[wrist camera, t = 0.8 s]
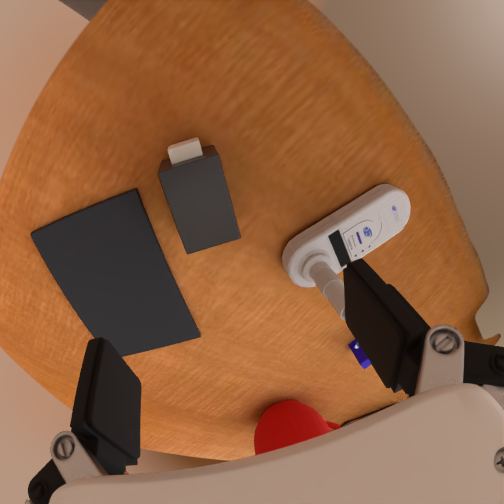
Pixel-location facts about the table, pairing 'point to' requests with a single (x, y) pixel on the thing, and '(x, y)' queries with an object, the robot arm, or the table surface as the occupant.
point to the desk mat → (117, 275)
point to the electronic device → (345, 240)
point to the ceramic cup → (288, 426)
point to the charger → (198, 196)
